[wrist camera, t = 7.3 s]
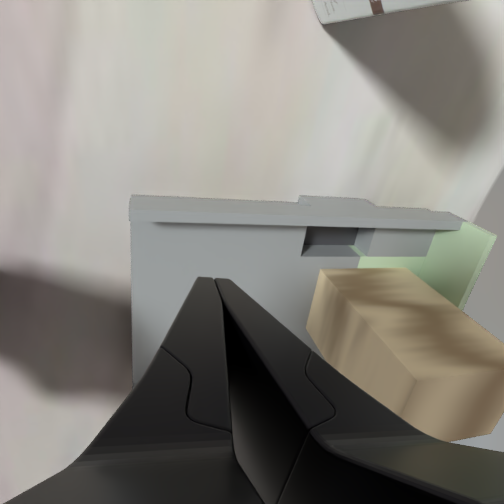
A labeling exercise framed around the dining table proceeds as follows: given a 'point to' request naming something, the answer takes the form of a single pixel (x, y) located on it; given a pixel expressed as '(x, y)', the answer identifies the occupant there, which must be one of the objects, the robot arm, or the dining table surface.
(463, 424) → the block
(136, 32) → the dining table surface
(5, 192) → the dining table surface
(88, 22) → the dining table surface
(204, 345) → the robot arm
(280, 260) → the lane
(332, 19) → the skincare box
